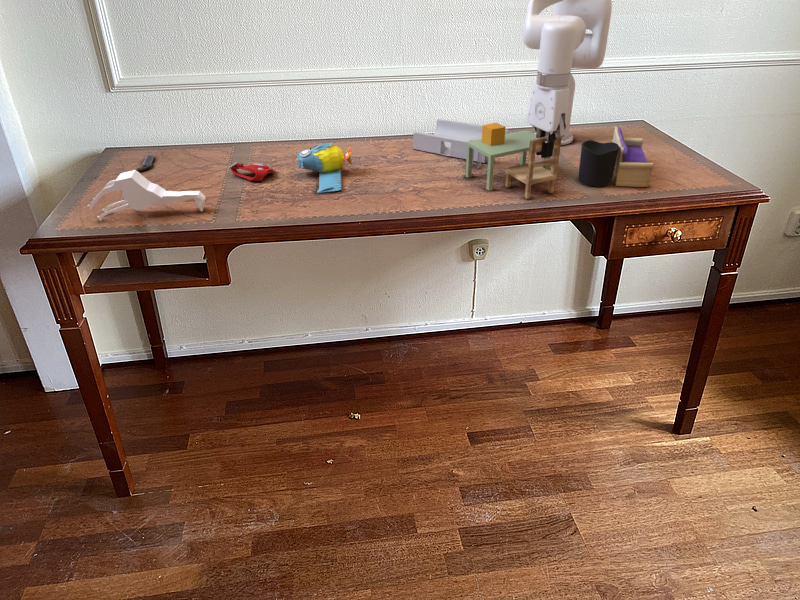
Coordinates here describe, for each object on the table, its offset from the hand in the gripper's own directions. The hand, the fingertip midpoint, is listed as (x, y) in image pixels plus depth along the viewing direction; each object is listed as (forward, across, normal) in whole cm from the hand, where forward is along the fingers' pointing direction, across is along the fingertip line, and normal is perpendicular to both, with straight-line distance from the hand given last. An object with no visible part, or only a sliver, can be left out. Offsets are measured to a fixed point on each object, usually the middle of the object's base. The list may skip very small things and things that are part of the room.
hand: (544, 155), depth 151 cm
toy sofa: (+11, -1, +31) cm, 33 cm away
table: (+11, -15, 0) cm, 18 cm away
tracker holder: (+11, -50, -62) cm, 81 cm away
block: (+1, -17, -4) cm, 17 cm away
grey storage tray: (+11, -40, -1) cm, 41 cm away
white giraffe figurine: (+11, -37, -92) cm, 99 cm away
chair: (+11, -4, 0) cm, 12 cm away
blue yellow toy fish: (+11, -42, -43) cm, 61 cm away
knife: (+11, -75, -88) cm, 117 cm away
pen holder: (+11, -1, +19) cm, 22 cm away
